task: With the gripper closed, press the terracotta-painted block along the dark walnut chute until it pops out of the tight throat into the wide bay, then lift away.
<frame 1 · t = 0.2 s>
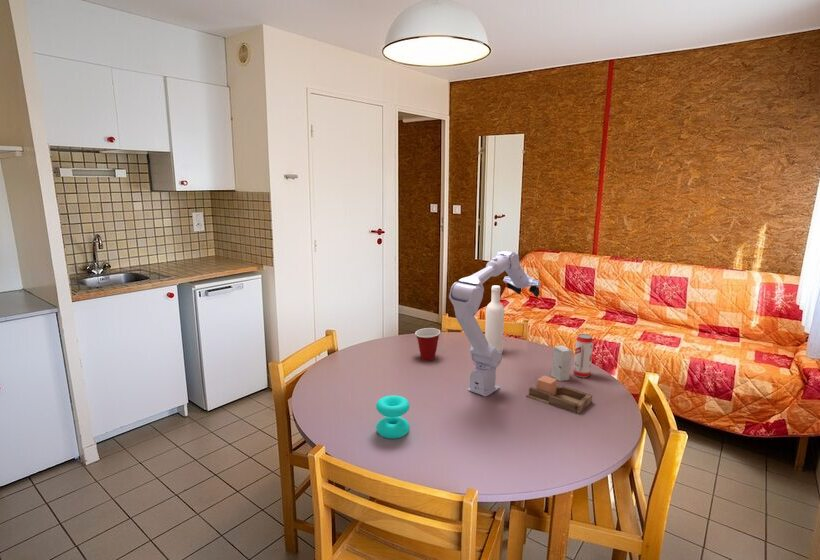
hand: (528, 293, 185), 31 cm above the table, tool tilted 45°, fingers open, 7 cm apart
block: (546, 386, 166), point 3 cm above the table, slide at 0.0 cm
bottle: (493, 352, 209), on the table
chute: (554, 398, 165), on the table
donuts: (393, 432, 143), on the table
beer can: (581, 375, 184), on the table
plastic cup: (427, 358, 202), on the table
skincare box: (560, 378, 182), on the table
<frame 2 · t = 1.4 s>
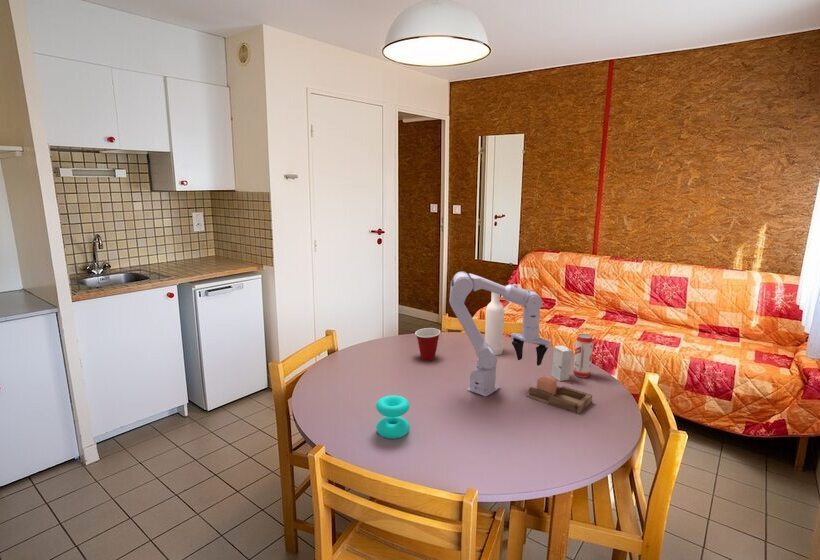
hand: (529, 361, 170), 11 cm above the table, tool pointing down, fingers open, 7 cm apart
nothing on the table moved.
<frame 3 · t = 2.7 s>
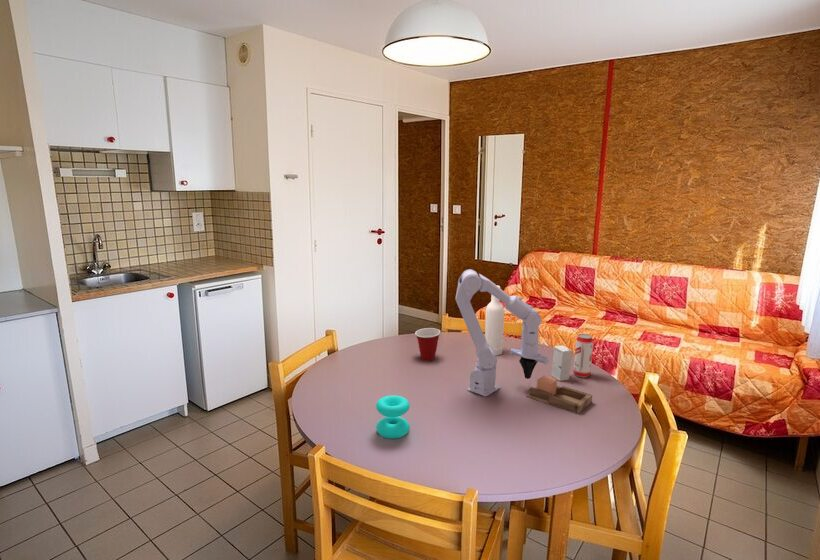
hand: (527, 377, 171), 5 cm above the table, tool pointing down, fingers closed
nothing on the table moved.
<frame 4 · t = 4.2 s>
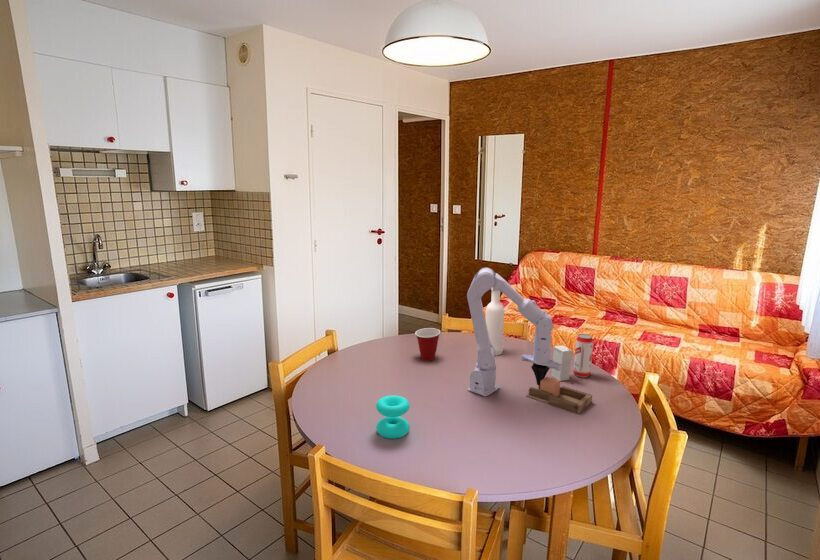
hand: (539, 384, 168), 3 cm above the table, tool pointing down, fingers closed
block: (550, 387, 165), point 3 cm above the table, slide at 1.2 cm, touching gripper
everything else where it was.
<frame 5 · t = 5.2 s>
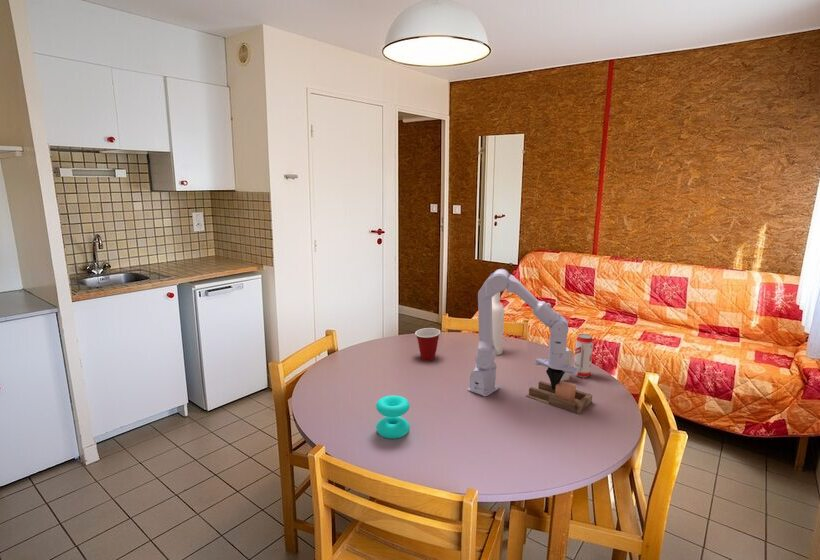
hand: (554, 388, 164), 3 cm above the table, tool pointing down, fingers closed
block: (565, 392, 162), point 3 cm above the table, slide at 6.8 cm, touching gripper
everything else where it was.
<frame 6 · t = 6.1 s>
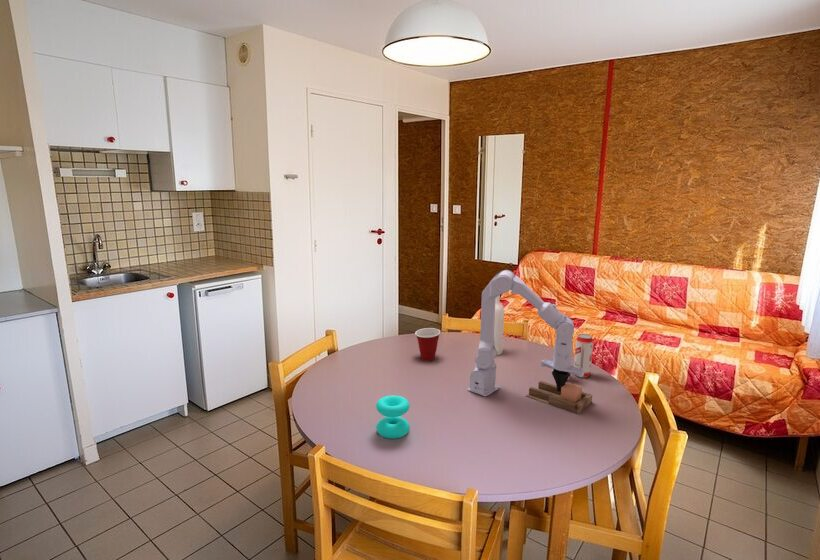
hand: (560, 390, 163), 3 cm above the table, tool pointing down, fingers closed
block: (571, 394, 160), point 3 cm above the table, slide at 8.9 cm, touching gripper
everything else where it was.
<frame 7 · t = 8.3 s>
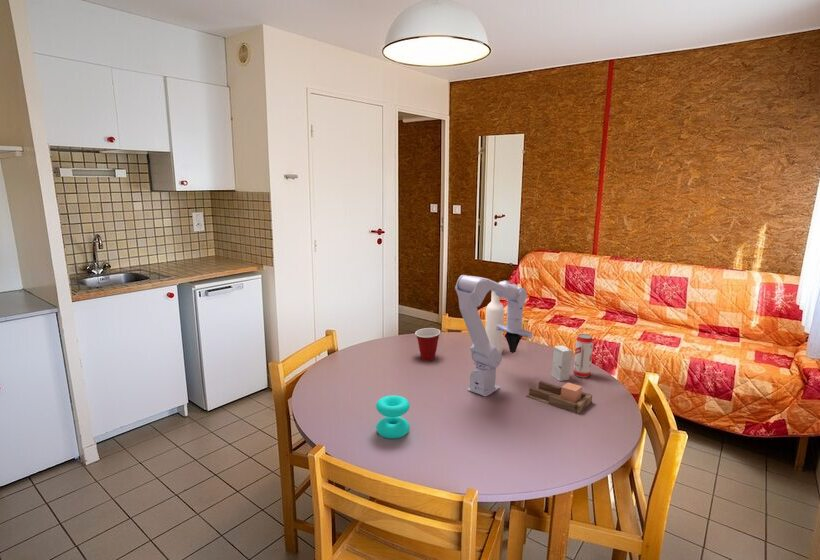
hand: (512, 352, 180), 10 cm above the table, tool pointing down, fingers closed
block: (571, 394, 160), point 3 cm above the table, slide at 8.9 cm
everything else where it was.
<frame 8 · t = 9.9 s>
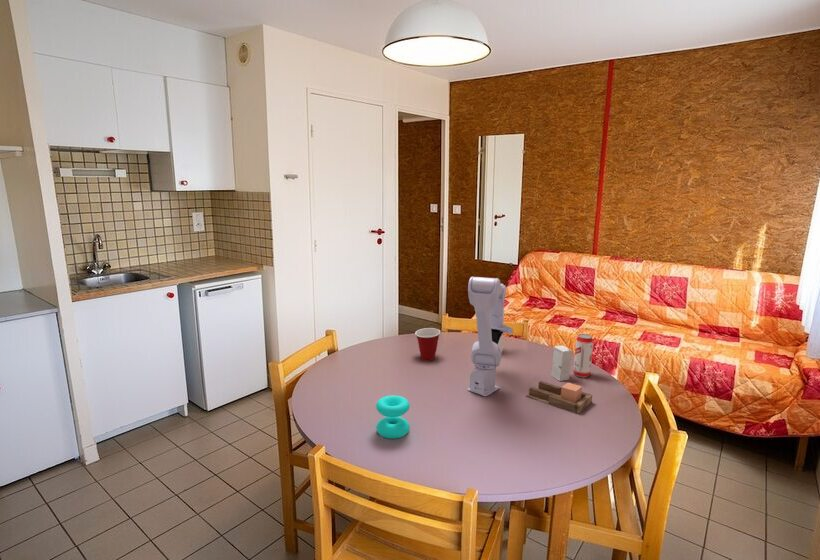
hand: (494, 347, 185), 10 cm above the table, tool pointing down, fingers closed
nothing on the table moved.
at the end: block slide at 8.9 cm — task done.
